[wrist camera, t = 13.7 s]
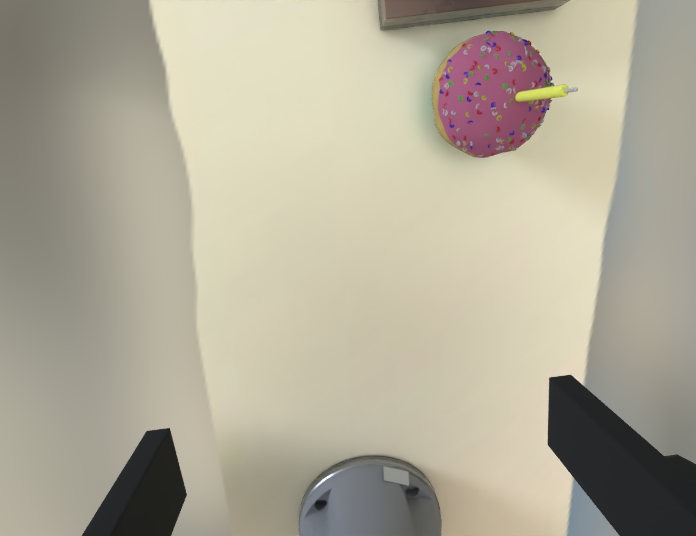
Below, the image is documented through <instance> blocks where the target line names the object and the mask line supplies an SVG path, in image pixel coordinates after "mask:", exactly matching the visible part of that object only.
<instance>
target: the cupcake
mask: <svg viewBox="0 0 696 536" xmlns="http://www.w3.org/2000/svg"><path fill="white" fill-rule="evenodd" d="M488 32H489V33H488ZM529 42H530V41H527V40H525V39H522V38H521V37H520V38H519V37H517V36H514V34H513V33H512V32H510V34H509V33H507V32H504V31H493V32H491V31H487V32H486V34H483V35H478V36H475V37H473V38H470V39H469V40H467V41H465V42H463V43H461V44H460V45H458V46H457V47H455V48H454V49H453V50H452V51H451V52H450V54H449V55H448V56H447V57H446V59H445V60H444V61H443V62H442V63H441V65H440V66H439V68H438V70H437V72H436V74H435V77H434V81H433V86H432V103H433V109H434V115H435V125H436V128H437V130H438V131H439V133H440V135H441V136H442V137H443V138H444V139H445V140H446V141H447V142H448V143H449V144H451V145H452V146H454V147H456V148H457V149H459V150H461V151H463V152H465V153H467V154H469V155H471V156H473V157H479V158H485V157H489V156H493V155H496V154H499V153H503V152H508V151H514V150H516V148H518V147H519V146H521V145H522V144H523V143H525V142H526V141H527V140H529V139H530V137H531V136H532V135H533V134H534V132H535V131H536V129H537V128H538V127H540V126H541V125H540V124H541V123H542V122H543V118H544V116H545V113H546V111H547V110H549V106H550V103H551V101H552V100H550V99H551V98H556V97H564V96H566V95H567V94H568V93H569V92H574V91H578V88H569V87H568V86H567V85H558V86H554V83H550V81H551V80H552V77H551V76H550V75H549V72H550V68H549V67H547V65H546V63H545V62H544V60H543V59H542V57H541V56H540V55H539V51H538V50H535V49H534V48H533V47H532V46H531V42H530V43H529ZM537 51H538V52H537ZM548 69H549V70H548ZM551 85H553V86H552V87H551Z"/></svg>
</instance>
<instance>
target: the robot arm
mask: <svg viewBox="0 0 696 536" xmlns="http://www.w3.org/2000/svg"><path fill="white" fill-rule="evenodd" d="M548 446H549V447H550V448H551V449H552V451H553V452H554V453H555V454H556V456H557V457H558V458H559V459H560V461H561V462H562V463H563V465H564V466H565V467H566V468H567V470H568V471H569V472H570V473H571V475H572V476H573V477H574V478H575V480H576V481H577V482H578V484H579V485H580V486H581V487H582V489H583V490H584V491H585V492H586V494H587V495H588V496H589V497H590V499H591V500H592V501H593V502H594V504H595V505H596V506H597V508H598V509H599V510H600V511H601V512H602V514H603V515H604V516H605V518H606V519H607V520H608V521H609V523H610V524H611V525H612V526H613V528H614V529H615V530H616V532H617V533H618V534H619V535H620V536H696V464H694V463H692V462H691V461H688V460H687V459H685V458H683V457H681V456H679V455H671V456H663V455H662V454H661V453H660V452H658V450H656V449H655V448H654V447H653V446H652V445H651V444H649V443H648V442H647V441H646V440H645V439H644V438H643V437H641V436H640V435H639V434H638V433H637V432H636V431H635V430H633V429H632V428H631V427H630V426H629V425H628V424H626V423H625V422H624V421H623V420H622V419H621V418H620V417H618V416H617V415H616V414H615V413H614V412H613V411H612V410H611V409H609V408H608V407H607V406H605V404H604V403H602V402H601V401H600V400H599V399H598V398H597V397H596V396H594V395H593V394H592V393H591V392H590V391H589V390H588V389H586V388H585V387H584V386H583V385H582V384H581V383H580V382H578V381H577V380H576V379H575V378H574V377H573V376H572V375H566V376H558V377H551V378H549V413H548ZM186 495H187V494H186V490H185V486H184V482H183V478H182V474H181V471H180V466H179V462H178V459H177V455H176V451H175V447H174V443H173V439H172V435H171V431H170V428H167V429H159V430H152V431H147V432H146V433H145V435H144V436H143V438H142V440H141V441H140V443H139V444H138V446H137V448H136V449H135V451H134V453H133V454H132V456H131V458H130V459H129V461H128V462H127V464H126V466H125V467H124V469H123V470H122V472H121V473H120V475H119V477H118V478H117V480H116V481H115V483H114V485H113V486H112V488H111V490H110V491H109V493H108V494H107V496H106V498H105V499H104V501H103V502H102V504H101V506H100V507H99V509H98V510H97V512H96V514H95V515H94V517H93V518H92V520H91V522H90V524H89V525H88V526H87V528H86V530H85V531H84V533H83V535H82V536H171V534H172V532H173V529H174V526H175V524H176V521H177V519H178V516H179V513H180V511H181V508H182V506H183V503H184V501H185V498H186ZM299 532H300V536H441V514H440V508H439V504H438V501H437V497H436V494H435V492H434V489H433V487H432V485H431V484H430V482H429V481H428V479H427V478H426V477H425V476H424V475H423V474H422V473H421V472H420V471H419V470H417V469H416V468H414V467H413V466H411V465H409V464H407V463H405V462H403V461H400V460H397V459H393V458H389V457H381V456H367V457H359V458H354V459H350V460H347V461H344V462H341V463H339V464H337V465H335V466H333V467H331V468H329V469H328V470H326V471H325V472H323V473H322V474H321V475H320V476H319V477H317V478H316V479H315V480H314V482H313V483H312V484H311V485H310V486H309V488H308V490H307V491H306V493H305V495H304V497H303V500H302V503H301V507H300V515H299Z"/></svg>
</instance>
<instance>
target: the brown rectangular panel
mask: <svg viewBox="0 0 696 536" xmlns="http://www.w3.org/2000/svg"><path fill="white" fill-rule="evenodd" d="M568 1H570V0H378V7H379V19H380V30H389V29H397V28H405V27H413V26H422V25H430V24H438V23H446V22H455V21H463V20H471V19H479V18H488V17H496V16H504V15H512V14H521V13H529V12H537V11H545V10H554V9H556V8H558V7H559V6H561V5H563V4H564V3H566V2H568Z"/></svg>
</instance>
